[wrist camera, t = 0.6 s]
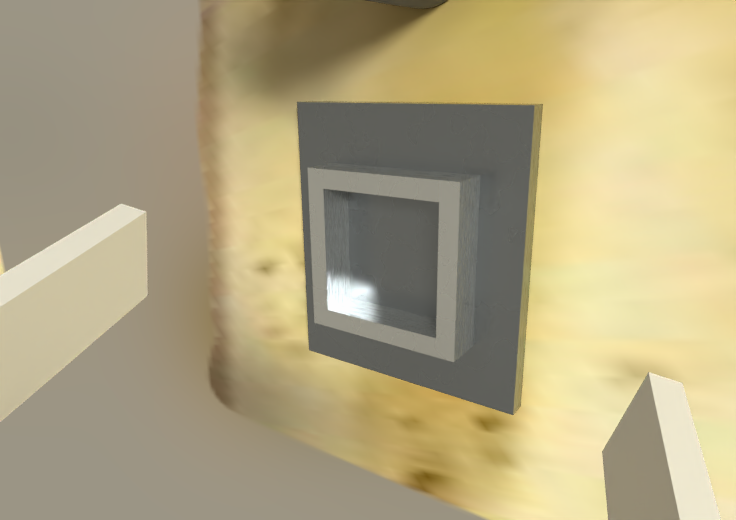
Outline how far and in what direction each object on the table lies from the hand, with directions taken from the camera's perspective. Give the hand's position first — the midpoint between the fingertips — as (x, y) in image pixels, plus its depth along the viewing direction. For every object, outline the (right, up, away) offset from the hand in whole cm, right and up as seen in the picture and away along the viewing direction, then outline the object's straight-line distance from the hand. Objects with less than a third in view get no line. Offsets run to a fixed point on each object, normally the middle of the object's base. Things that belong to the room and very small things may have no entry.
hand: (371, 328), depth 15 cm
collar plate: (+3, +3, +23) cm, 23 cm away
